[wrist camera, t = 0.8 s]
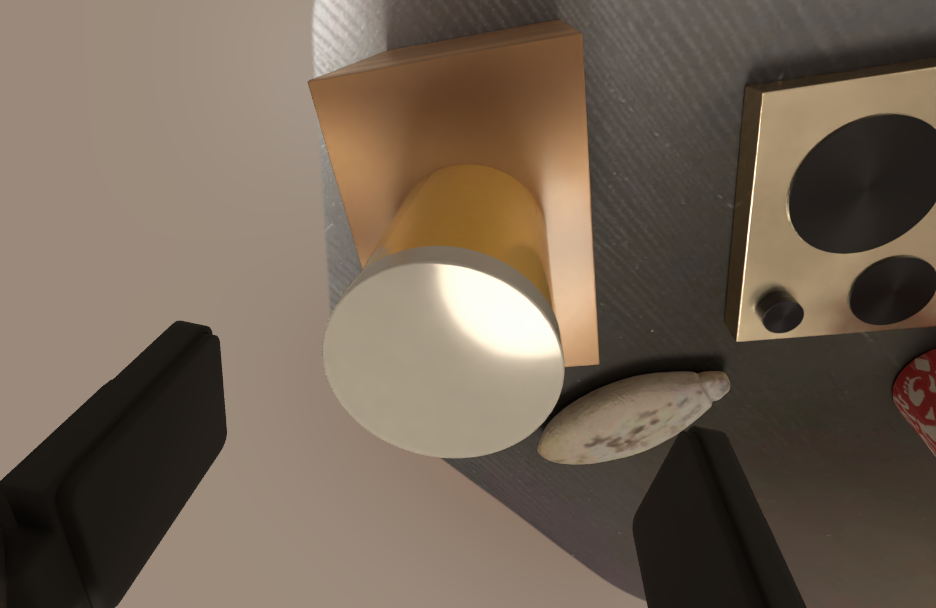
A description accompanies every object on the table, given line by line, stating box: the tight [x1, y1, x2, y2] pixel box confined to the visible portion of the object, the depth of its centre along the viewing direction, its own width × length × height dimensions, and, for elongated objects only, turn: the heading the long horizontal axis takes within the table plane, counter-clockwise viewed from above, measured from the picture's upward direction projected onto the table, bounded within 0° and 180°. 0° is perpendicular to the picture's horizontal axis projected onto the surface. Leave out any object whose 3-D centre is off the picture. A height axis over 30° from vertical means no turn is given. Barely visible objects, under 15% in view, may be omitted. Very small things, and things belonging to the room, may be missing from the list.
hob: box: [724, 57, 936, 342], centre depth 31 cm, size 16×12×4 cm
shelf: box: [308, 19, 599, 367], centre depth 27 cm, size 14×10×13 cm
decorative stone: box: [537, 371, 730, 464], centre depth 40 cm, size 6×16×3 cm, turn 123°
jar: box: [322, 164, 565, 458], centre depth 18 cm, size 7×7×9 cm
